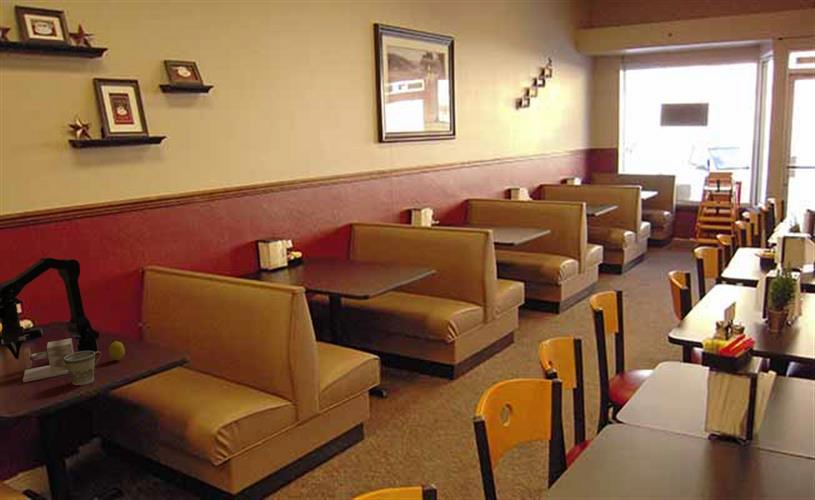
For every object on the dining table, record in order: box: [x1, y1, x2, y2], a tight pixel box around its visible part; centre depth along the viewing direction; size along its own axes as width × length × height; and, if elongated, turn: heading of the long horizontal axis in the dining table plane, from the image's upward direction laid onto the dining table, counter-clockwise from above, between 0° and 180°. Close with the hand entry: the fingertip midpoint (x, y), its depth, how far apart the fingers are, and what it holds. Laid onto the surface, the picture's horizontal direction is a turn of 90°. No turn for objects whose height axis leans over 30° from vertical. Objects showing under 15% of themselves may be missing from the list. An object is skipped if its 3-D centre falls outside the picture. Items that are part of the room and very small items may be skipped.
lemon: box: [108, 340, 126, 362], centre depth 253 cm, size 6×6×8 cm
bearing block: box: [46, 337, 75, 372], centre depth 246 cm, size 8×8×10 cm
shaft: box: [23, 347, 49, 369], centre depth 243 cm, size 10×6×6 cm, turn 116°
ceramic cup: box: [64, 350, 102, 387], centre depth 233 cm, size 13×10×10 cm
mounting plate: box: [22, 364, 69, 383], centre depth 245 cm, size 18×12×1 cm, turn 116°
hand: (17, 358), depth 240 cm, fingers closed
